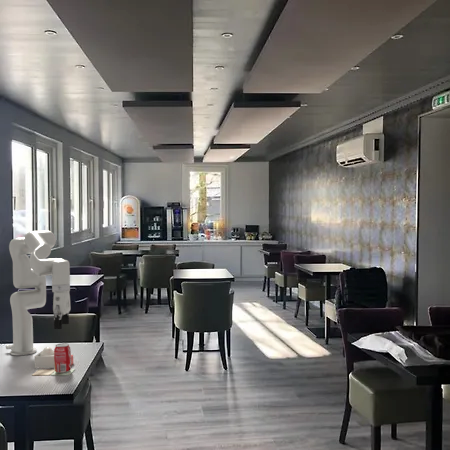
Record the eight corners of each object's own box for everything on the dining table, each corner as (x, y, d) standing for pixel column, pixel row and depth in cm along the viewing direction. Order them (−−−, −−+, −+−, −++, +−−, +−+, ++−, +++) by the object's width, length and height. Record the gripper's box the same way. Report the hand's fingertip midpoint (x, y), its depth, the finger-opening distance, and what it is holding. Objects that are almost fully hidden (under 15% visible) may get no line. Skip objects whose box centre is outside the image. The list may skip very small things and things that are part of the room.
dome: (38, 360, 247) (38, 349, 247) (43, 356, 253) (43, 345, 253) (52, 360, 247) (52, 348, 246) (56, 356, 253) (56, 345, 253)
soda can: (66, 368, 243) (65, 342, 242) (74, 371, 238) (73, 344, 237) (51, 371, 238) (51, 345, 238) (59, 375, 233) (58, 347, 233)
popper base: (34, 368, 245) (34, 356, 245) (41, 362, 254) (41, 351, 254) (54, 368, 245) (54, 356, 245) (60, 362, 254) (60, 351, 254)
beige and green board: (31, 375, 234) (31, 374, 234) (38, 370, 242) (38, 369, 242) (69, 375, 234) (69, 374, 234) (74, 369, 242) (74, 369, 242)
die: (62, 365, 249) (61, 356, 249) (64, 363, 253) (64, 354, 253) (70, 365, 249) (70, 356, 249) (73, 363, 253) (73, 354, 253)
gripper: (63, 291, 228) (64, 330, 229) (75, 285, 246) (75, 322, 246) (45, 291, 228) (46, 330, 229) (59, 285, 246) (59, 322, 246)
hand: (61, 326), depth 238 cm, fingers open, 9 cm apart
